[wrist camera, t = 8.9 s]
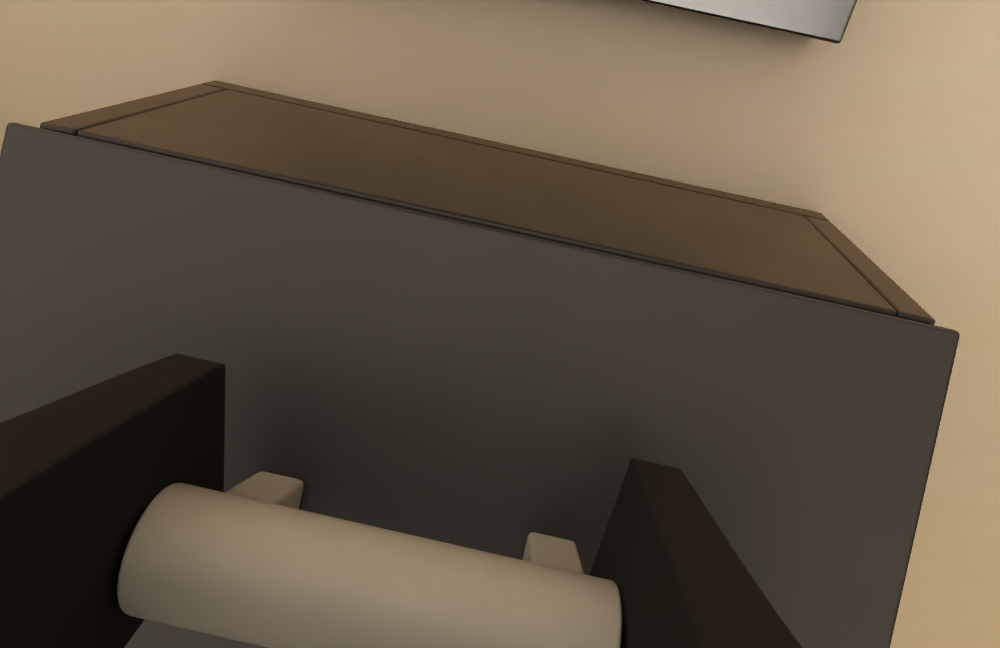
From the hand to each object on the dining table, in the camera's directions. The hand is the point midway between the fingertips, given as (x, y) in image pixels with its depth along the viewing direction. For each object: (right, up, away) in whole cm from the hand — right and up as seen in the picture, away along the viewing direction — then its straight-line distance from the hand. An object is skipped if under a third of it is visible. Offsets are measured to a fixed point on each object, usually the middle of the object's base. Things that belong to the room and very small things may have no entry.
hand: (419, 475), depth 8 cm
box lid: (-1, -2, +2) cm, 3 cm away
